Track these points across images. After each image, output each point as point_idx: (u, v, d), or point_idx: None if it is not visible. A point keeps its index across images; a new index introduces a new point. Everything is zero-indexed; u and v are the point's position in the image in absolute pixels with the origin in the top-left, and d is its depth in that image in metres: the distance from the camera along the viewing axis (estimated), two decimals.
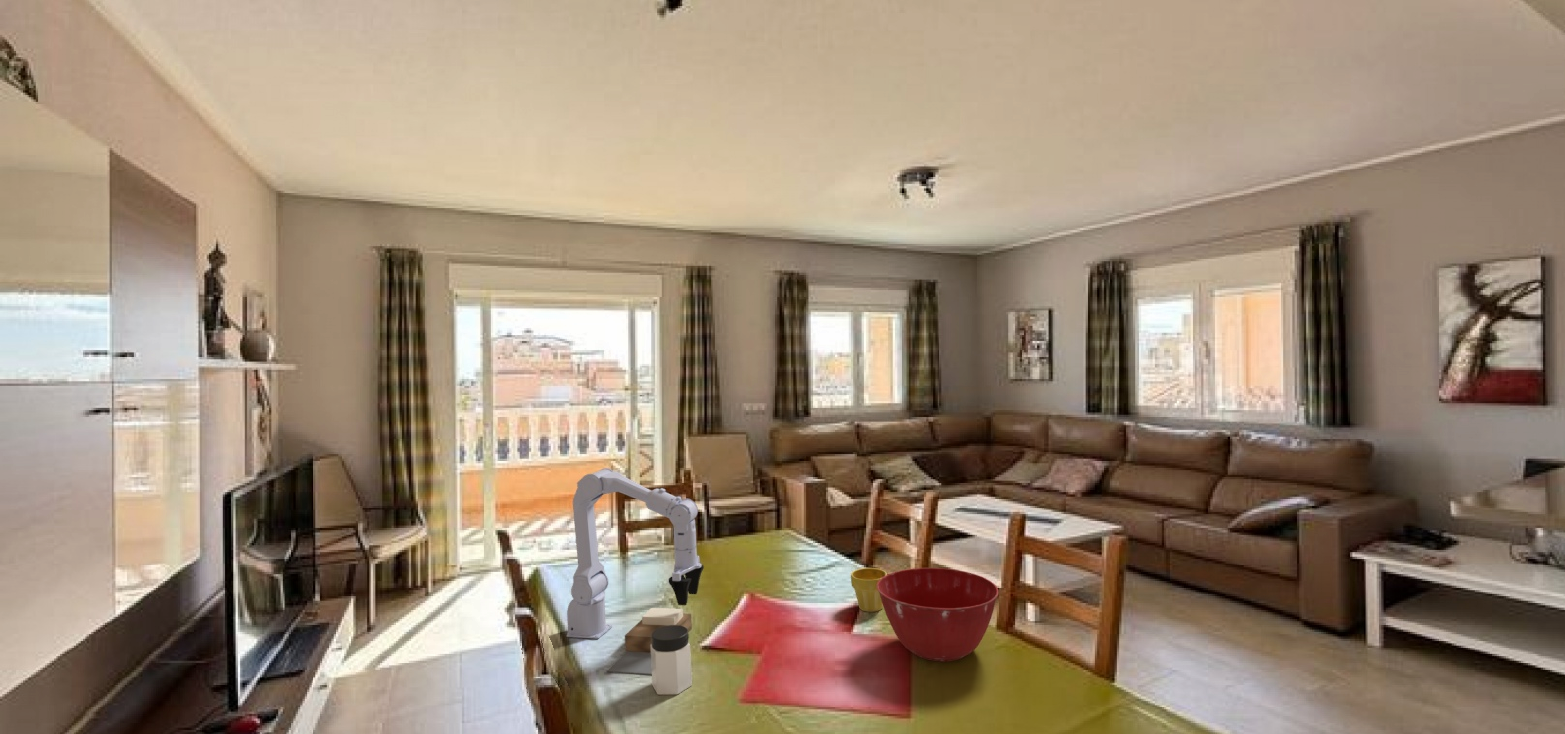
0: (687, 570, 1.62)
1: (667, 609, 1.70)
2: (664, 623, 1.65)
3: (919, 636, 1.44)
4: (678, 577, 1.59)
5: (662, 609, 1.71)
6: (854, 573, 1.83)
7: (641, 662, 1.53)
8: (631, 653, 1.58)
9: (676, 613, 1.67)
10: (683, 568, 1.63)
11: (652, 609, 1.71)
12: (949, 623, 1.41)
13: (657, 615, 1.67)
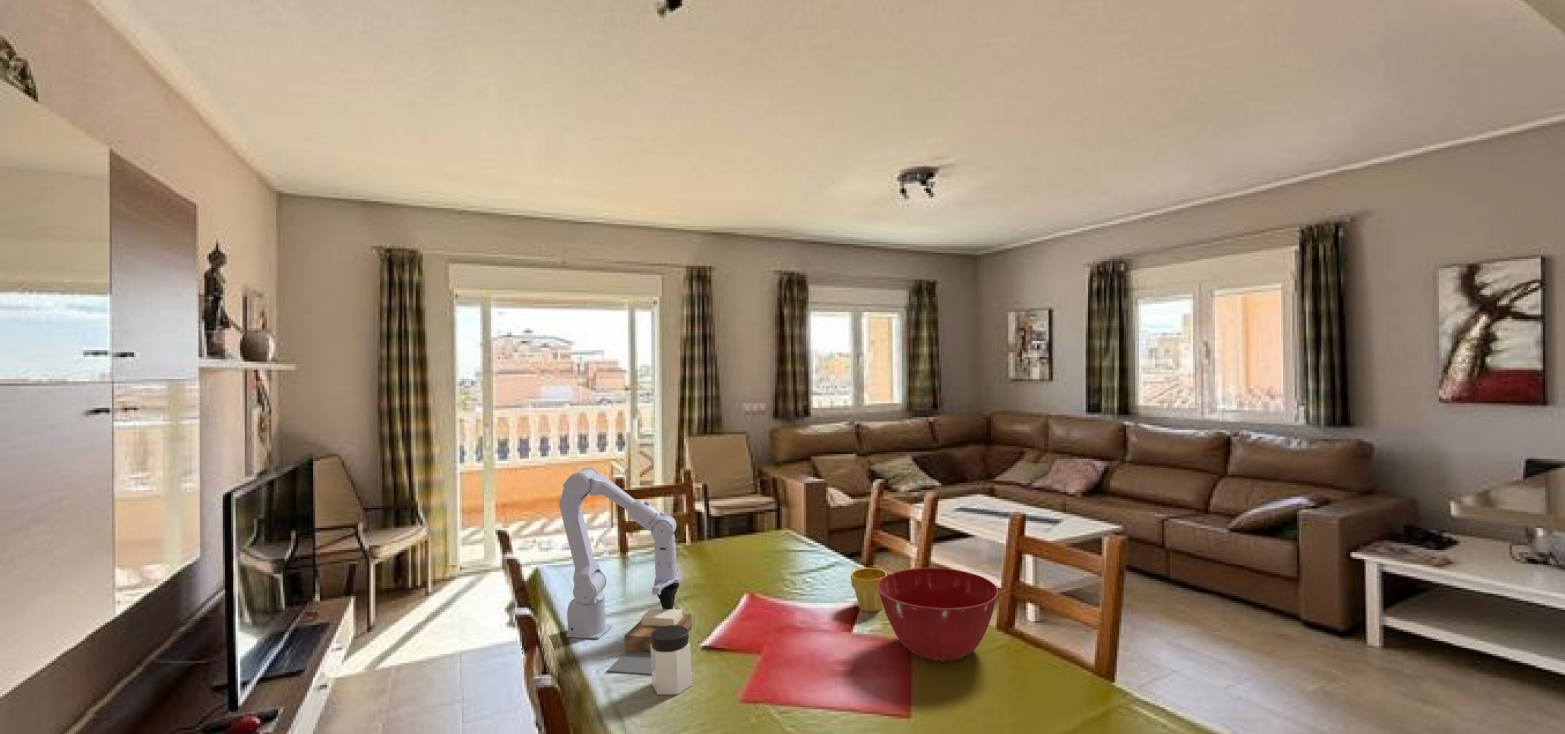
0: (667, 584, 1.67)
1: (666, 610, 1.70)
2: (663, 624, 1.65)
3: (919, 636, 1.44)
4: (658, 591, 1.64)
5: (662, 609, 1.70)
6: (854, 573, 1.83)
7: (641, 662, 1.53)
8: (631, 653, 1.58)
9: (675, 614, 1.67)
10: (663, 582, 1.69)
11: (651, 610, 1.70)
12: (949, 623, 1.41)
13: (657, 615, 1.66)
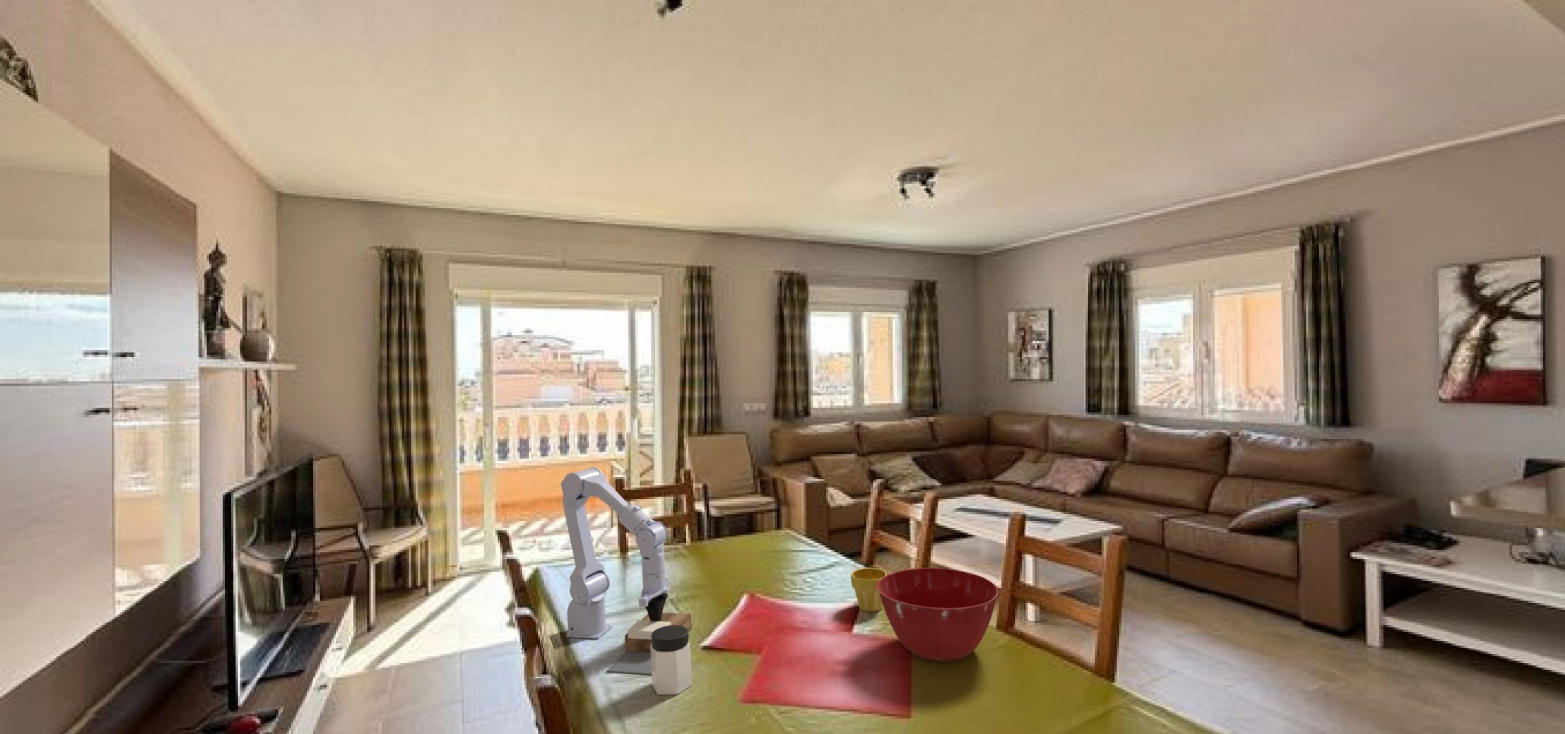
0: (654, 595, 1.60)
1: (654, 622, 1.62)
2: None
3: (919, 636, 1.44)
4: (645, 602, 1.57)
5: (650, 621, 1.63)
6: (854, 573, 1.83)
7: (641, 662, 1.53)
8: (631, 653, 1.58)
9: None
10: (651, 593, 1.61)
11: (639, 622, 1.63)
12: (949, 623, 1.41)
13: (644, 628, 1.59)
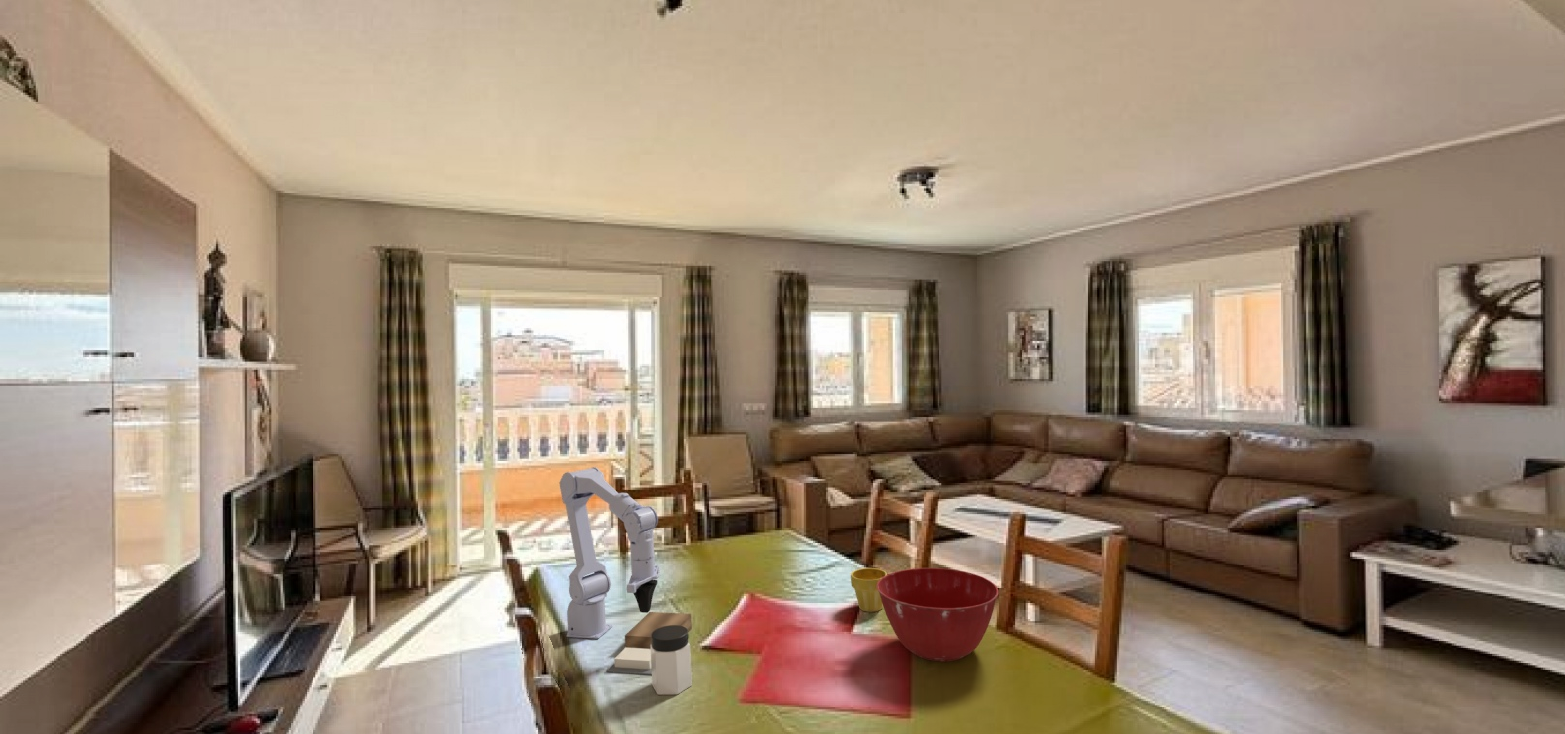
0: (643, 581, 1.54)
1: None
2: None
3: (919, 636, 1.44)
4: (633, 589, 1.51)
5: None
6: (854, 573, 1.83)
7: None
8: None
9: None
10: (639, 579, 1.55)
11: None
12: (949, 623, 1.41)
13: None
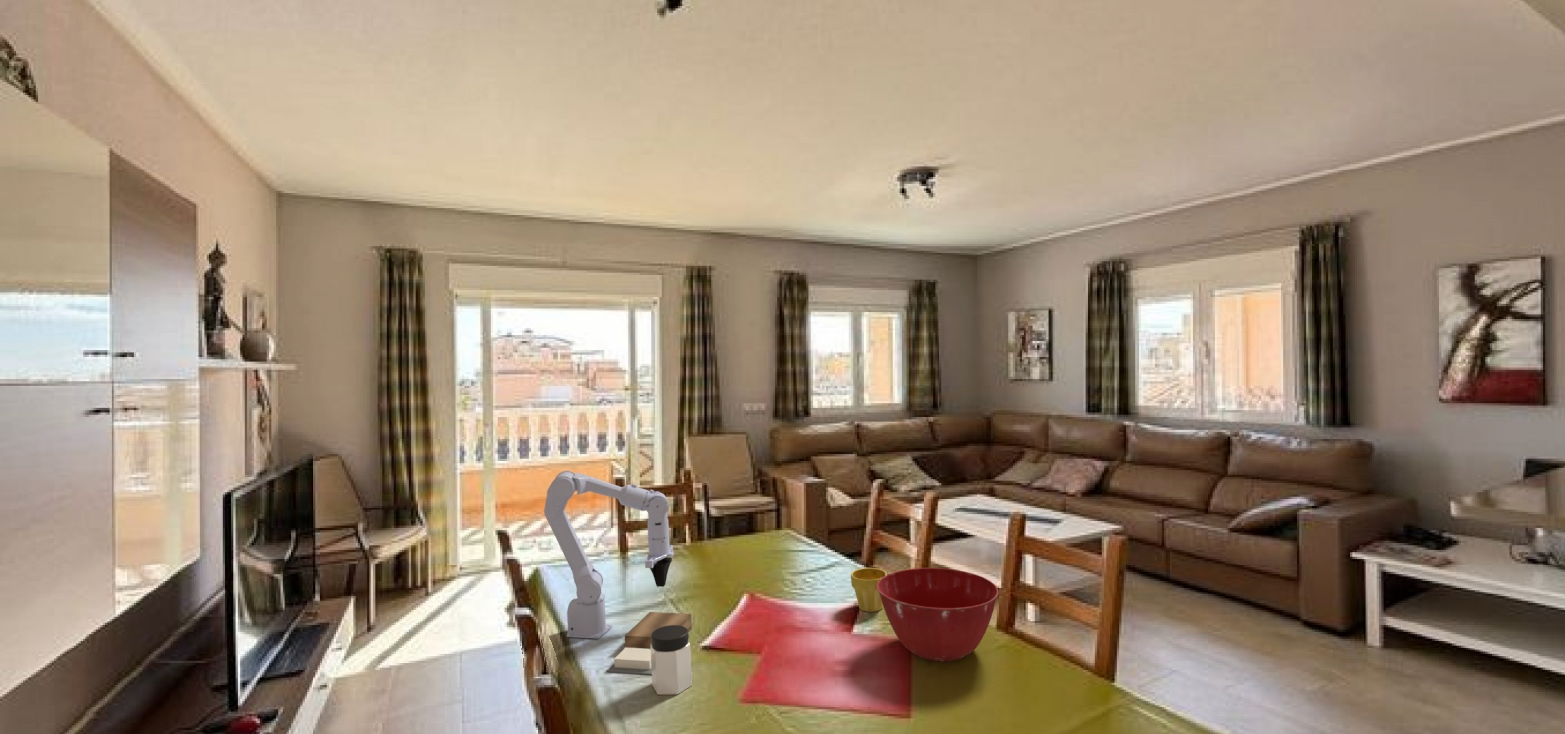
0: (659, 558, 1.72)
1: None
2: None
3: (919, 636, 1.44)
4: (650, 564, 1.69)
5: None
6: (854, 573, 1.83)
7: None
8: None
9: None
10: (656, 556, 1.73)
11: None
12: (949, 623, 1.41)
13: None
